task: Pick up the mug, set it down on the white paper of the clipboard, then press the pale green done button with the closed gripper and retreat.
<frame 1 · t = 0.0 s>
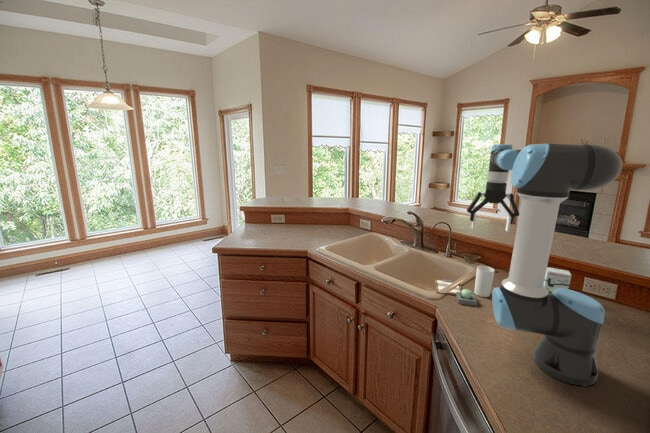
hand: (489, 229, 133), 28 cm above the worktop, fingers open, 13 cm apart
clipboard: (448, 288, 139), on the worktop
button base: (465, 300, 128), on the worktop
mug: (484, 293, 135), on the worktop
ink box: (553, 295, 134), on the worktop
done button: (466, 294, 127), point 3 cm above the worktop, slide at 0.0 cm
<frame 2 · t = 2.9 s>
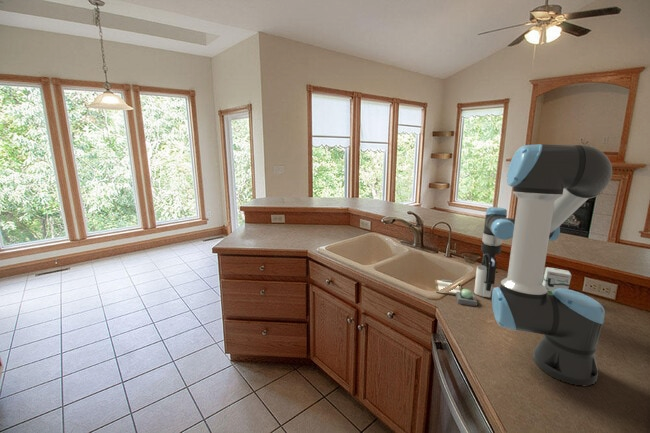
hand: (484, 292, 134), 1 cm above the worktop, fingers closed on mug, 7 cm apart
mug: (484, 293, 135), on the worktop, touching gripper
when the fingers open (3 cm above the worktop, at t = 9.1 s): mug drops 1 cm, resting on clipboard.
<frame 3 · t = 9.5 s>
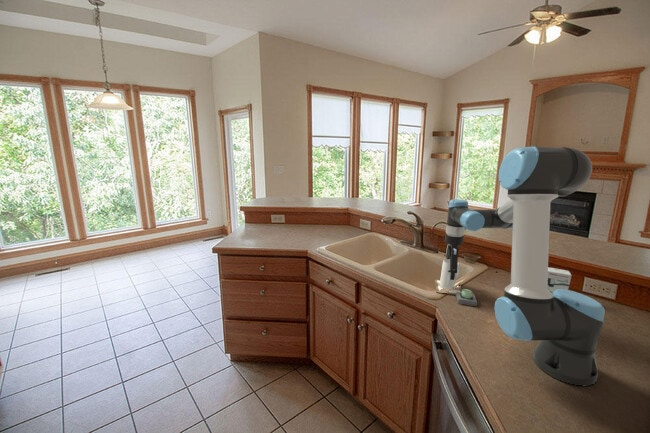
hand: (449, 279, 138), 4 cm above the worktop, fingers open, 13 cm apart
mug: (449, 286, 139), point 1 cm above the worktop, touching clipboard
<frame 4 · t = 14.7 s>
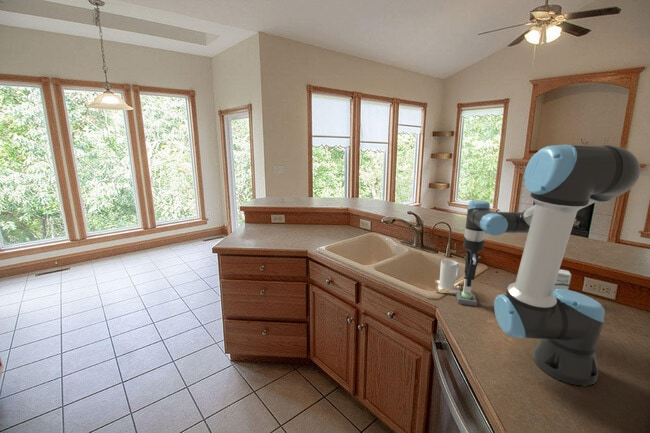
hand: (466, 292, 127), 4 cm above the worktop, fingers closed
done button: (466, 295, 128), point 2 cm above the worktop, slide at -0.7 cm, touching gripper
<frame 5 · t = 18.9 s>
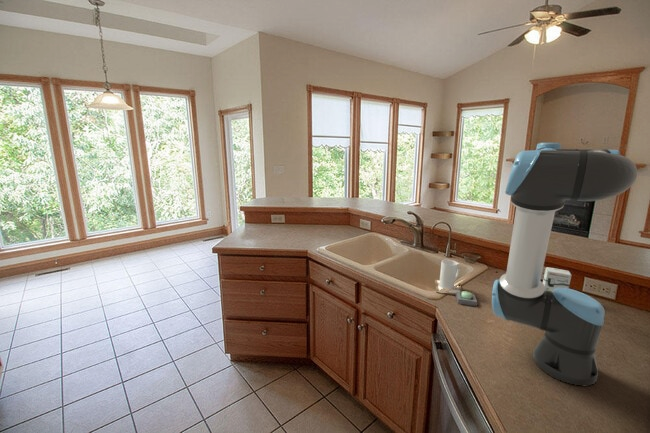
hand: (531, 242, 121), 26 cm above the worktop, fingers closed
done button: (466, 296, 128), point 2 cm above the worktop, slide at -1.0 cm
everything else where it was.
at the end: mug inside the target area on the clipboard (0.5 cm from its centre), point 0.6 cm above the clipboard's base; mug tilted 1°; done button slide at -1.0 cm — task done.
